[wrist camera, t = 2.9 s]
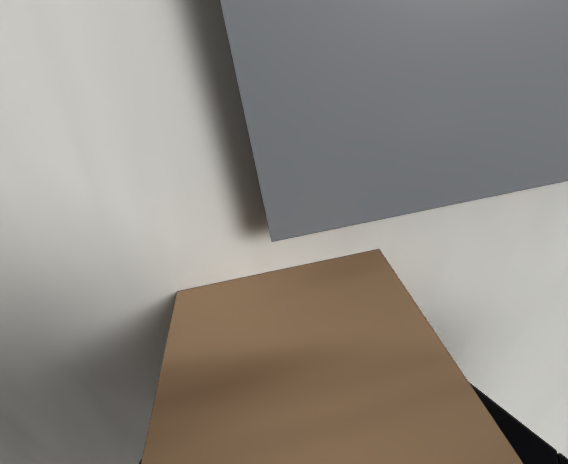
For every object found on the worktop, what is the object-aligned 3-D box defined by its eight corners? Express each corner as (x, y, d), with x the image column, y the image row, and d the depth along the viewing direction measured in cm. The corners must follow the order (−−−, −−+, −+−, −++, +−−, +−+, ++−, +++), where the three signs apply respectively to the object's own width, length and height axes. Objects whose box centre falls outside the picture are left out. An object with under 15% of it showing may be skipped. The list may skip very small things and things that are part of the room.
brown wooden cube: (381, 377, 11) (476, 597, 7) (227, 411, 11) (224, 658, 7) (379, 249, 8) (531, 474, 4) (177, 291, 8) (119, 569, 4)
